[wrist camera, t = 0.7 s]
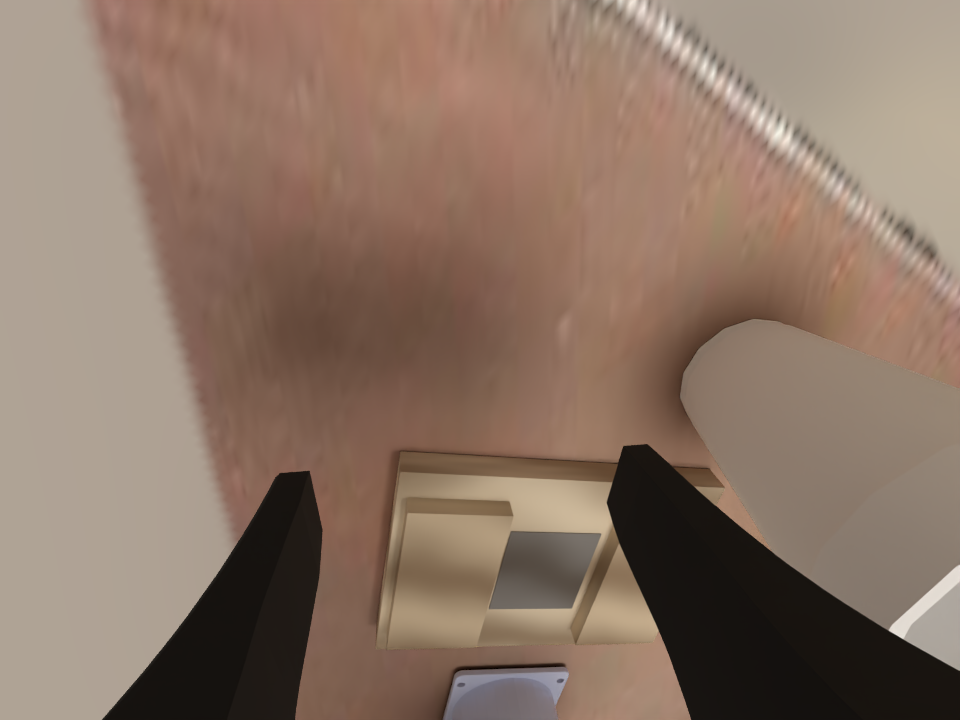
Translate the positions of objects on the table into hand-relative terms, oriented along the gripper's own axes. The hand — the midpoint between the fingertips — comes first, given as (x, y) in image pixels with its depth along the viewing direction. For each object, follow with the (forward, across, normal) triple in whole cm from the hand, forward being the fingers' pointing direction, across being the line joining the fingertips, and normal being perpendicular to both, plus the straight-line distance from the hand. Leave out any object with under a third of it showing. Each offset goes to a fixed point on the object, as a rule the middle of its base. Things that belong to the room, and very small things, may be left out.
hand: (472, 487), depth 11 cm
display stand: (+8, -6, +16) cm, 19 cm away
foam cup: (+10, -15, +5) cm, 19 cm away
